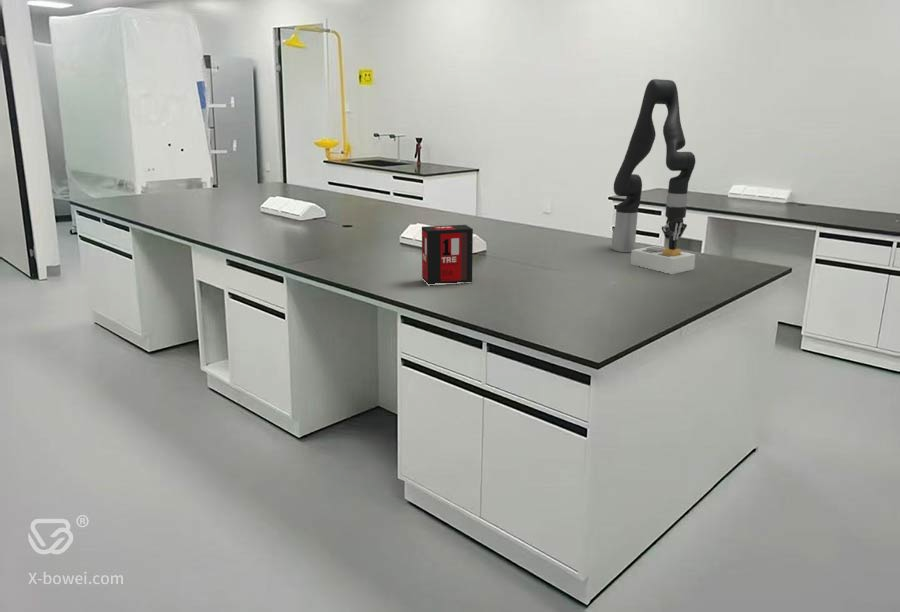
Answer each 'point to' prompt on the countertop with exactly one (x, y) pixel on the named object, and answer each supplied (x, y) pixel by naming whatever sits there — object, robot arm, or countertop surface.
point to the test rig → (662, 261)
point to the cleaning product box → (447, 254)
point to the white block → (654, 249)
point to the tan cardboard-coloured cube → (671, 252)
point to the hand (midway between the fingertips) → (672, 248)
